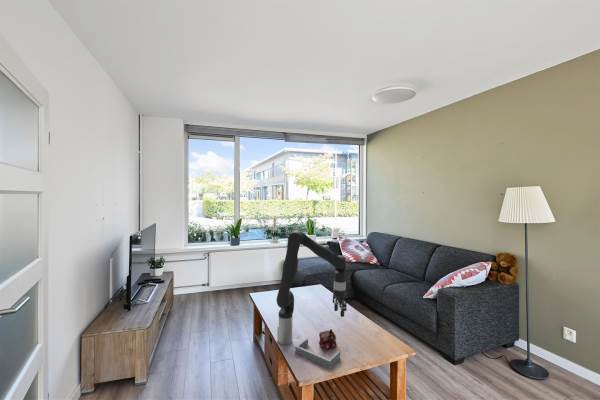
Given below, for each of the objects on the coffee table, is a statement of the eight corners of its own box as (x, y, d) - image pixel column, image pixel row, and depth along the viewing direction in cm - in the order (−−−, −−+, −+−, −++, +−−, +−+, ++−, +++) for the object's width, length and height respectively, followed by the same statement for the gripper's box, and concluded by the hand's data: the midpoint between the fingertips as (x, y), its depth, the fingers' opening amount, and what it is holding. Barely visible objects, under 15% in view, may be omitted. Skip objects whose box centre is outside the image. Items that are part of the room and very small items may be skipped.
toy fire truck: (338, 346, 177) (339, 330, 177) (322, 351, 171) (322, 335, 171) (332, 341, 183) (332, 326, 183) (316, 346, 178) (316, 330, 177)
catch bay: (295, 352, 170) (295, 346, 170) (306, 344, 180) (306, 338, 180) (329, 368, 155) (329, 361, 155) (340, 358, 165) (340, 351, 165)
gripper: (329, 284, 177) (328, 309, 178) (339, 292, 164) (338, 319, 164) (339, 283, 180) (339, 308, 180) (350, 291, 166) (350, 317, 167)
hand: (339, 313), depth 172 cm, fingers open, 8 cm apart
